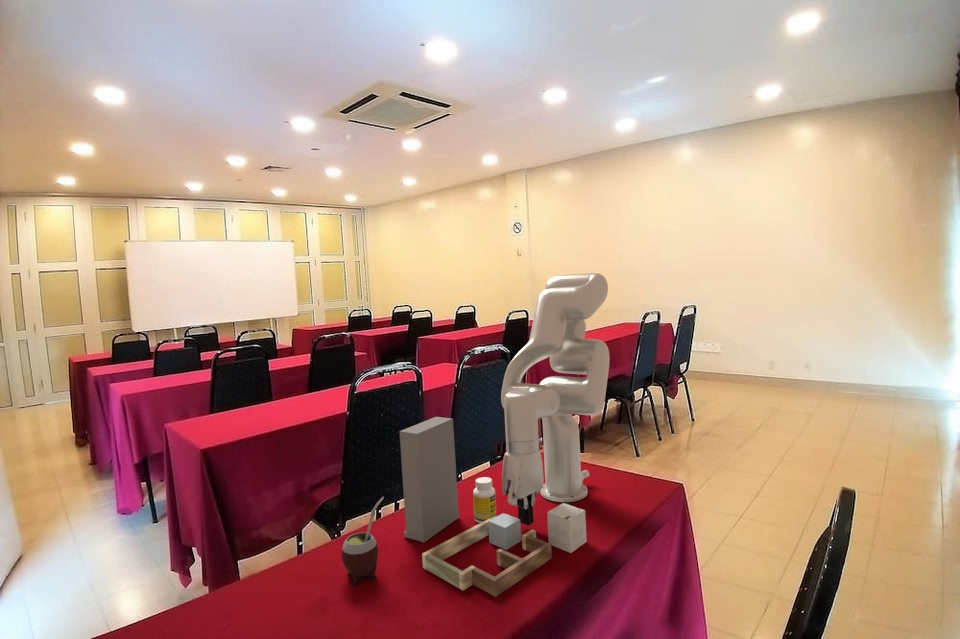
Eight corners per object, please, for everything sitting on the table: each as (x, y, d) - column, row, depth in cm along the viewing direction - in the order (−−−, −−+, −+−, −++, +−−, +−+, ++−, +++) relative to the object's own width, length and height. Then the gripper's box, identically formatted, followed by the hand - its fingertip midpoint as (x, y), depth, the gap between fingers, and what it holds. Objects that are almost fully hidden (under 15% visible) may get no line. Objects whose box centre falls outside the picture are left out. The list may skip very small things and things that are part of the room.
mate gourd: (336, 585, 99) (331, 510, 98) (357, 563, 107) (352, 494, 106) (371, 589, 97) (366, 513, 96) (389, 567, 105) (384, 496, 104)
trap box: (496, 527, 119) (495, 515, 119) (559, 553, 107) (558, 539, 106) (422, 567, 104) (422, 553, 104) (486, 603, 91) (485, 587, 91)
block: (504, 534, 116) (503, 513, 116) (521, 541, 113) (520, 519, 112) (489, 542, 113) (488, 521, 112) (506, 550, 109) (505, 527, 109)
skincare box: (564, 533, 115) (562, 502, 114) (587, 542, 110) (585, 509, 110) (547, 544, 110) (546, 511, 110) (571, 553, 106) (569, 519, 106)
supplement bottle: (494, 524, 121) (492, 484, 120) (472, 524, 122) (470, 484, 121) (498, 514, 126) (496, 476, 125) (476, 513, 127) (474, 475, 126)
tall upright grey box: (439, 513, 129) (433, 416, 127) (459, 518, 125) (453, 418, 124) (403, 537, 117) (396, 431, 115) (424, 543, 114) (417, 434, 112)
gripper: (530, 434, 124) (533, 507, 126) (488, 450, 114) (492, 530, 115) (555, 439, 119) (558, 515, 120) (513, 457, 109) (517, 540, 110)
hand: (526, 522), depth 118 cm, fingers closed
